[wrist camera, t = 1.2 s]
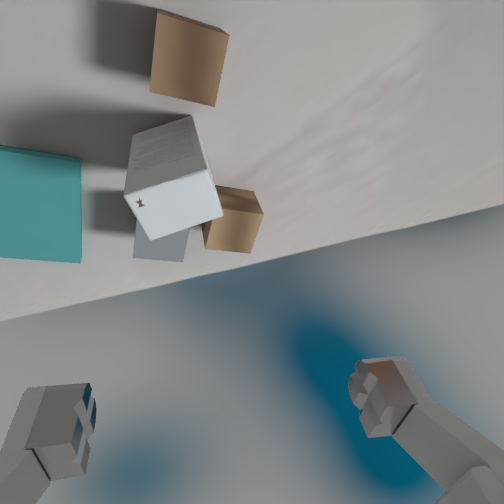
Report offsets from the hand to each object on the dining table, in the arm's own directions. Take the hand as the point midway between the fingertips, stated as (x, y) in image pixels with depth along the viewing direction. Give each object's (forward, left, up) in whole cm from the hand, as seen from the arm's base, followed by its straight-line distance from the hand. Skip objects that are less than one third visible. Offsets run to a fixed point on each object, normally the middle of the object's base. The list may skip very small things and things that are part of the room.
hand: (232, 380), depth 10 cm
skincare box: (-1, -3, -28) cm, 28 cm away
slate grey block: (-1, -11, -28) cm, 30 cm away
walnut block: (-1, +5, -28) cm, 28 cm away
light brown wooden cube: (+6, -9, -28) cm, 30 cm away
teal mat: (-15, -12, -28) cm, 34 cm away
